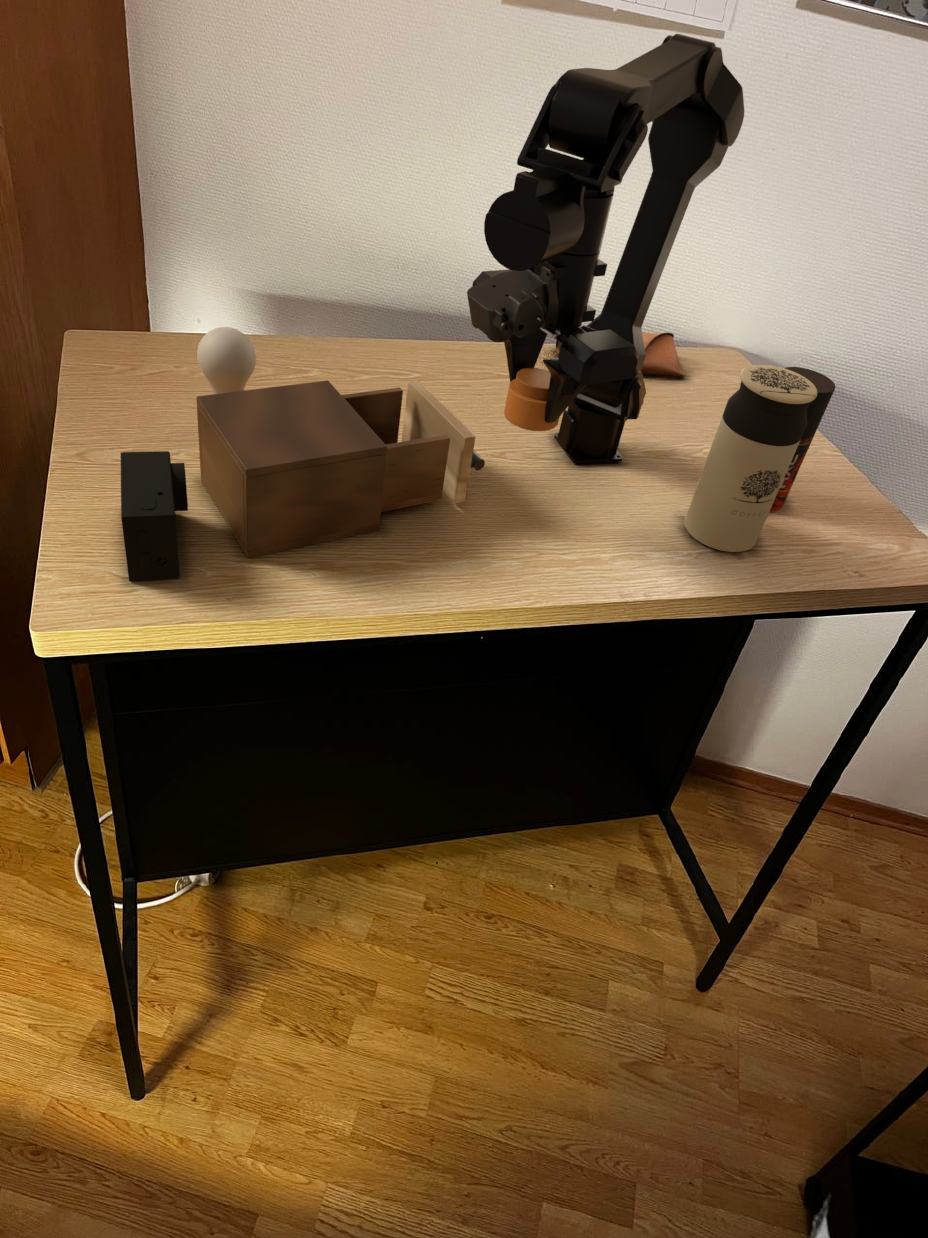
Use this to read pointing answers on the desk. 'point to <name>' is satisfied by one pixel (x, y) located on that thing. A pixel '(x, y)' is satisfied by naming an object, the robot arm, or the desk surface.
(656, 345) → the sunglasses case
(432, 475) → the drawer
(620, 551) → the desk surface
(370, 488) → the cabinet
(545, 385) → the stacked orange cylinders
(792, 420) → the travel mug
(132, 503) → the digital camera
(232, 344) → the lightbulb
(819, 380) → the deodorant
